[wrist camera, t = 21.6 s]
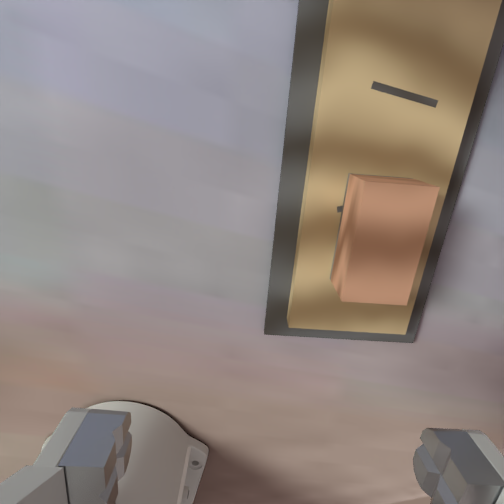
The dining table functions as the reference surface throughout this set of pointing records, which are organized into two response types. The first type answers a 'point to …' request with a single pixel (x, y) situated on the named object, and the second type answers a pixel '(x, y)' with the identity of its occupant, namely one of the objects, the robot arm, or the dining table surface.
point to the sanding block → (381, 238)
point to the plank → (373, 143)
